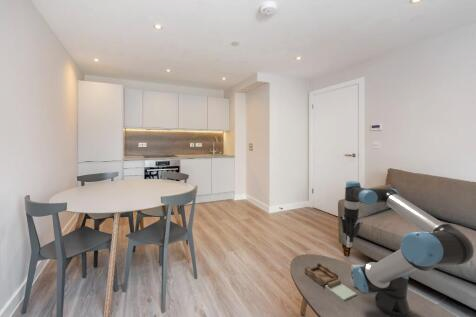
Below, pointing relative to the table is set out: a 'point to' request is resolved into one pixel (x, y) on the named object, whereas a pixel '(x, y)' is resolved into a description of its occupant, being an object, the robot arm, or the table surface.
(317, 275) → the walnut box
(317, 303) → the table surface
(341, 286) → the lid
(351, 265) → the ink box
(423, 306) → the table surface
